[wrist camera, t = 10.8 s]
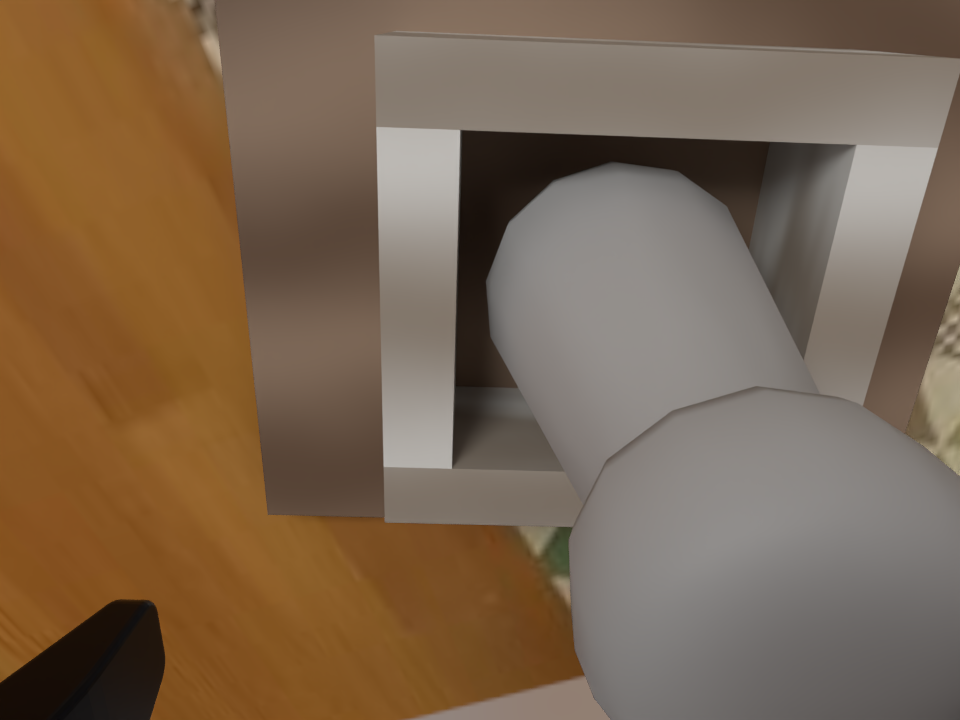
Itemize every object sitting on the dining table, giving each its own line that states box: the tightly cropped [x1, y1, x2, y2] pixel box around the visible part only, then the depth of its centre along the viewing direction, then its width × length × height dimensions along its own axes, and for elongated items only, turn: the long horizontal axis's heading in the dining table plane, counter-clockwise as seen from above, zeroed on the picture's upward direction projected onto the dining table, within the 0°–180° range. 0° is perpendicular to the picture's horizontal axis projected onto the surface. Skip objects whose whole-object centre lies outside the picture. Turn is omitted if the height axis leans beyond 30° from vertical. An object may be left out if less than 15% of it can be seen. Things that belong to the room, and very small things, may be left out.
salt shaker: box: [486, 161, 960, 720], centre depth 13 cm, size 6×6×13 cm
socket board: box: [215, 0, 960, 527], centre depth 17 cm, size 16×18×5 cm
